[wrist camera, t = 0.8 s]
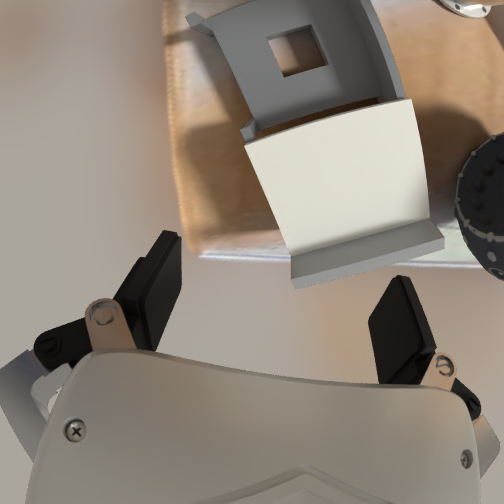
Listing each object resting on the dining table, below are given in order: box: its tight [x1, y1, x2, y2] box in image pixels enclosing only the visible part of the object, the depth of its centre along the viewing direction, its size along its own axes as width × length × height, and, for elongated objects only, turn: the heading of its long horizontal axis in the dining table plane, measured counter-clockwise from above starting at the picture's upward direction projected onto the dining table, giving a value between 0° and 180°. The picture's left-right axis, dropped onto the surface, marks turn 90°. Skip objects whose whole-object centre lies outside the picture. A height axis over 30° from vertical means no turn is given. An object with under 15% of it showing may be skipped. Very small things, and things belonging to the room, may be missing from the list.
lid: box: [244, 98, 444, 289], centre depth 25 cm, size 17×15×5 cm
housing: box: [185, 0, 406, 143], centre depth 27 cm, size 17×30×8 cm, turn 23°
